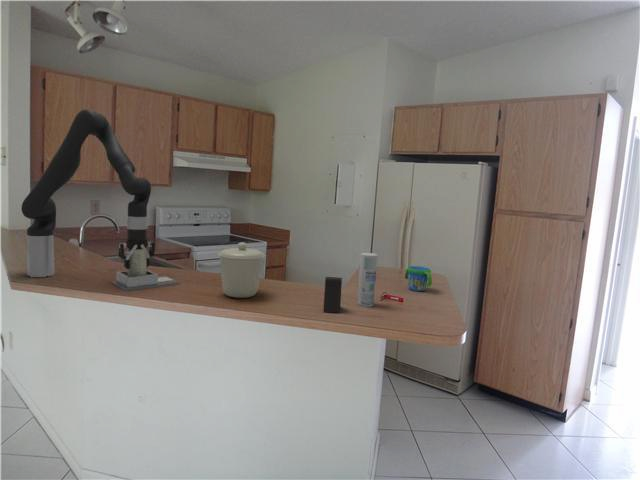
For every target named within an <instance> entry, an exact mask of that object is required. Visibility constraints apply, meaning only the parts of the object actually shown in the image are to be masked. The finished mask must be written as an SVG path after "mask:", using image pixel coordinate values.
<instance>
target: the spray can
mask: <svg viewBox="0 0 640 480" xmlns="http://www.w3.org/2000/svg"><path fill="white" fill-rule="evenodd" d="M378 256H379V255H378V254H377V253H373V252H361V253H360V259H359V260H360V261H359V263H360V264H359V272H358V273H359V274H358V289H357V305H358V306H361V307H364V308H365V307H366V308H368V307H369V308H370V307H373V306H374V302H375V301H374V300H375V290H376V279H377V270H378V269H377V266H378Z"/></svg>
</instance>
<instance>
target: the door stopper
mask: <svg viewBox="0 0 640 480" xmlns="http://www.w3.org/2000/svg"><path fill="white" fill-rule="evenodd" d="M324 279H325V280H324V281H325V282H324V294H323V295H324V296H323V313H331V314H340V313H341V303H342V302H341V300H342V283H343V277H336V276H335V277H334V276H333V277H332V276H325V278H324Z"/></svg>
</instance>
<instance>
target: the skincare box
mask: <svg viewBox="0 0 640 480" xmlns="http://www.w3.org/2000/svg"><path fill="white" fill-rule="evenodd" d="M145 249H146V248H145ZM145 249H135V251H134V252H133V254H132V255H131V256H130V258H129V269H126V271H127V272H128V277H133V276H143V275H147V270H148V269H147V268H148V267H147V261H146V254H145ZM126 251H128V252H130V250H129V249H128V248H127V249H126Z"/></svg>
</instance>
